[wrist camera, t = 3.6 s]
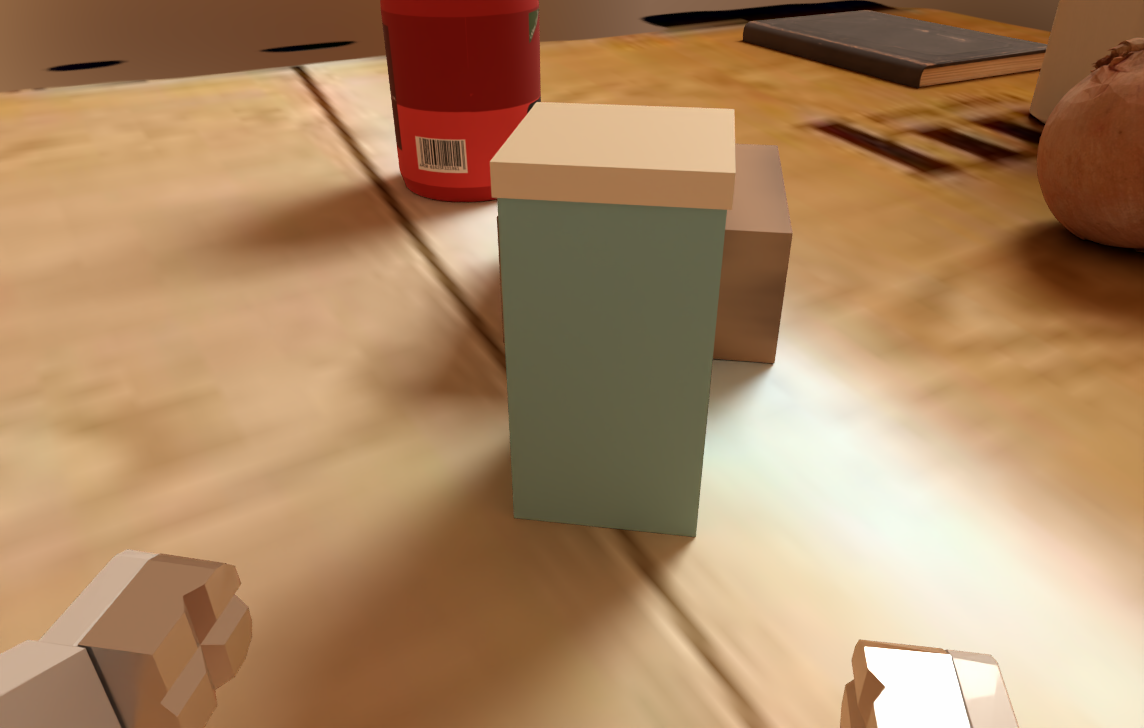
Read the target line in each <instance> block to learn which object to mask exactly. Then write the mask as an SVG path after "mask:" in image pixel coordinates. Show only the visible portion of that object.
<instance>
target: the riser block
mask: <svg viewBox="0 0 1144 728" xmlns="http://www.w3.org/2000/svg"><path fill="white" fill-rule="evenodd" d="M735 166H736V175H735V185H734V195H733V205H732V210H727V215H726V226H725V236H724V247H723V257H722V268H721V278H720V288H719V299H718V309H717V320H716V330H715V341H714V351H713V359H725V360H738V361H751V362H764V363H774V362H775V355H776V348H777V341H778V333H779V326H780V319H781V312H782V305H783V298H784V291H785V283H786V276H787V269H788V262H789V255H790V248H791V241H792V227H791V222H790V216H789V210H788V204H787V198H786V192H785V186H784V181H783V175H782V169H781V163H780V157H779V151H778V146H775V145H751V144H735ZM497 228H498V246H499V265H500V284H501V303H502V321H503V340H504V343H505V335H504V316H503V297H502V278H501V259H500V240H499V221H498V216H497Z"/></svg>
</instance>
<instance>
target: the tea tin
mask: <svg viewBox="0 0 1144 728" xmlns="http://www.w3.org/2000/svg"><path fill="white" fill-rule="evenodd" d="M735 175H736V166H735V122H734V109H717V108H689V107H661V106H633V105H605V104H577V103H549V102H536V103H535V105H534V106H533V107H532V109H531V110H530V111H529V112H528V114H527V115H526V116H525V117H524V119H523V120H522V121H521V123H520V124H519V125H518V126H517V128H516V129H515V130H514V131H513V133H512V134H511V135H510V137H509V138H508V139H507V140H506V142H505V143H504V144H503V145H502V147H501V148H500V149H499V151H498V152H497V153H496V154H495V156H494V157H493V158H492V159H491V161H490V176H491V194H492V198H497V201H498V221H499V240H500V259H501V278H502V297H503V316H504V335H505V354H506V374H507V393H508V412H509V431H510V450H511V469H512V488H513V507H514V518H520V519H529V520H538V521H548V522H557V523H567V524H576V525H586V526H595V527H605V528H614V529H624V530H633V531H643V532H652V533H662V534H671V535H681V536H690V537H696V528H697V518H698V507H699V497H700V487H701V476H702V466H703V455H704V445H705V434H706V424H707V414H708V403H709V393H710V382H711V372H712V361H713V351H714V341H715V330H716V320H717V309H718V299H719V288H720V278H721V268H722V257H723V247H724V236H725V226H726V215H727V210H732V205H733V195H734V185H735Z"/></svg>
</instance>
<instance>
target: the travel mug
mask: <svg viewBox="0 0 1144 728" xmlns="http://www.w3.org/2000/svg"><path fill="white" fill-rule="evenodd" d="M1133 38H1144V0H1060V1H1059V5H1058V8H1057V12H1056V16H1055V19H1054V23H1053V27H1052V31H1051V34H1050V37H1049V41H1048V45H1047V48H1046V52H1045V56H1044V59H1043V63H1042V67H1041V70H1040V74H1039V78H1038V81H1037V85H1036V89H1035V92H1034V96H1033V100H1032V103H1031V107H1030V113H1031V114H1032V115H1033V116H1035V117H1036V118H1037V119H1038V120H1039V121H1041V122H1042V123H1044V124H1046V121H1047V119H1048V117H1049V116H1050V114H1051V113H1052V111H1053V109H1054V108H1055V107H1056V105H1057V104H1058V103H1059V102H1060V100H1061V99H1062V98H1063V97H1064V96H1065V95H1066V94H1067V92H1068V91H1069V90H1070V89H1072V88H1073V87H1074V86H1075V85H1077V84H1078V83H1079V82H1080V81H1082V80H1083V79H1084V78H1086V77H1087V76H1088V75H1090V74H1091V73H1092V72H1091V71H1090V70H1093V69H1096V68H1095V67H1092V66H1094V65H1095V64H1093V63H1096V62H1097V61H1098V60H1099V59H1102V58H1104V57H1105V56H1106V55H1110V54H1111V51H1113V50H1110V51H1107V50H1109V49H1111V48H1114V47H1116V46H1118V45H1119V43H1120V42H1122V41H1125V40H1131V39H1133Z"/></svg>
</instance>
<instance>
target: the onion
mask: <svg viewBox="0 0 1144 728" xmlns="http://www.w3.org/2000/svg"><path fill="white" fill-rule="evenodd" d="M1110 50H1113V51H1111V54H1110V55H1106V56H1105V57H1104V58H1102V59H1099V60H1098V61H1097V62H1096V63H1093V64H1095V65H1094V66H1092V67H1095V68H1096V69H1093V70H1090V71H1091V72H1092V73H1091V74H1090V75H1088V76H1087V77H1086V78H1084V79H1083V80H1082V81H1080V82H1079V83H1078V84H1077V85H1075V86H1074V87H1073V88H1072V89H1070V90H1069V91H1068V92H1067V94H1066V95H1065V96H1064V97H1063V98H1062V99H1061V100H1060V102H1059V103H1058V104H1057V105H1056V107H1055V108H1054V109H1053V111H1052V113H1051V114H1050V116H1049V117H1048V119H1047V121H1046V124H1045V126H1044V129H1043V132H1042V134H1041V137H1040V141H1039V146H1038V154H1037V172H1038V179H1039V183H1040V186H1041V190H1042V193H1043V196H1044V199H1045V201H1046V203H1047V205H1048V207H1049V209H1050V211H1051V212H1052V213H1053V215H1054V216H1055V218H1056V219H1057V220H1058V221H1059V222H1060V223H1061V224H1062V225H1063V226H1064V227H1065V228H1066V229H1068V230H1069V231H1070V232H1071V233H1073V234H1074V235H1076V236H1078V237H1079V238H1081V239H1083V240H1087V239H1088V240H1091V241H1094V242H1097V243H1100V244H1104V245H1108V246H1115V247H1124V248H1134V250H1135V251H1142V252H1143V254H1144V38H1133V39H1131V40H1125V41H1122V42H1120V43H1119V45H1118V46H1116V47H1114V48H1111V49H1109V50H1107V51H1110Z"/></svg>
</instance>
